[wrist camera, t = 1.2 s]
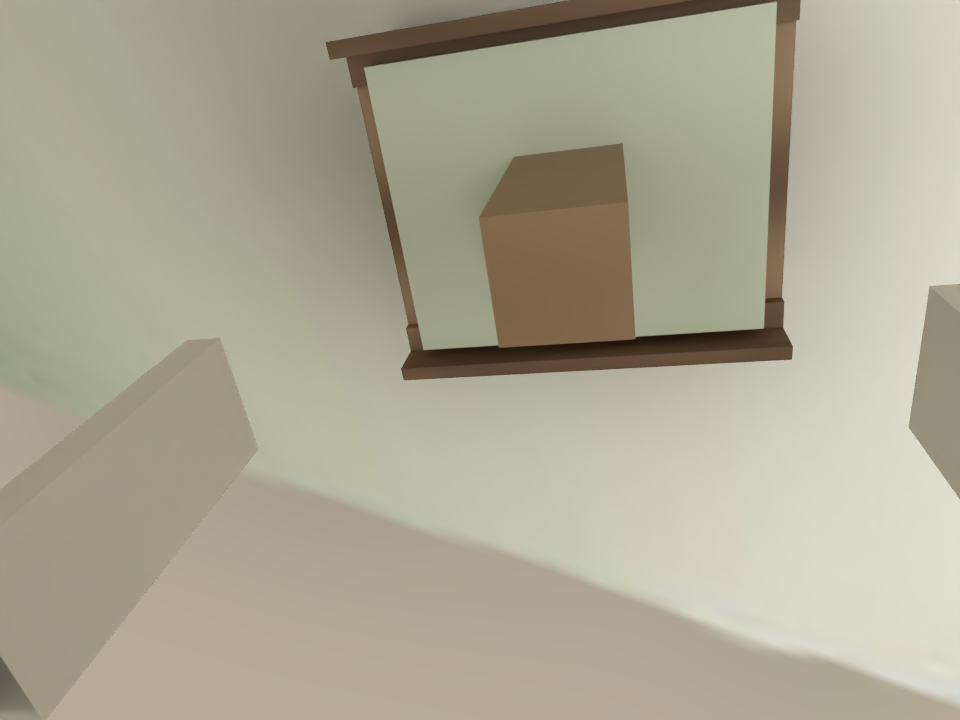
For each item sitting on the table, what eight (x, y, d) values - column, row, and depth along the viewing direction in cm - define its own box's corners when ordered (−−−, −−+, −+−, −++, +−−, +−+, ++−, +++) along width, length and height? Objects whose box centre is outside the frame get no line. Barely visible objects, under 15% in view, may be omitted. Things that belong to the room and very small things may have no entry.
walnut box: (392, 30, 28) (325, 42, 21) (761, -33, 24) (816, -42, 18) (444, 303, 33) (403, 380, 26) (751, 279, 30) (791, 359, 23)
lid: (371, 65, 23) (269, 96, 16) (770, 1, 20) (855, 5, 13) (428, 341, 27) (368, 456, 20) (759, 319, 24) (817, 444, 18)
